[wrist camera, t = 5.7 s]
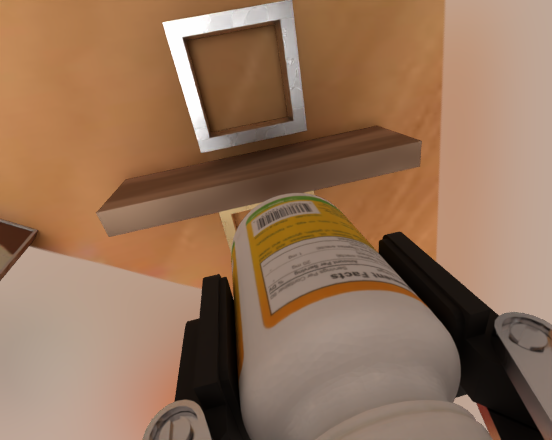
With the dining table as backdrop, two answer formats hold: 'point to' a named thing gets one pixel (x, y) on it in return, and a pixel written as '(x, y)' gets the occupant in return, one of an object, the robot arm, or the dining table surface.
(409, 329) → the supplement bottle
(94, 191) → the dining table surface
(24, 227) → the food container
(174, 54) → the double square frame
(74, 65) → the dining table surface
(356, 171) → the brown wooden plank
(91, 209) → the dining table surface
